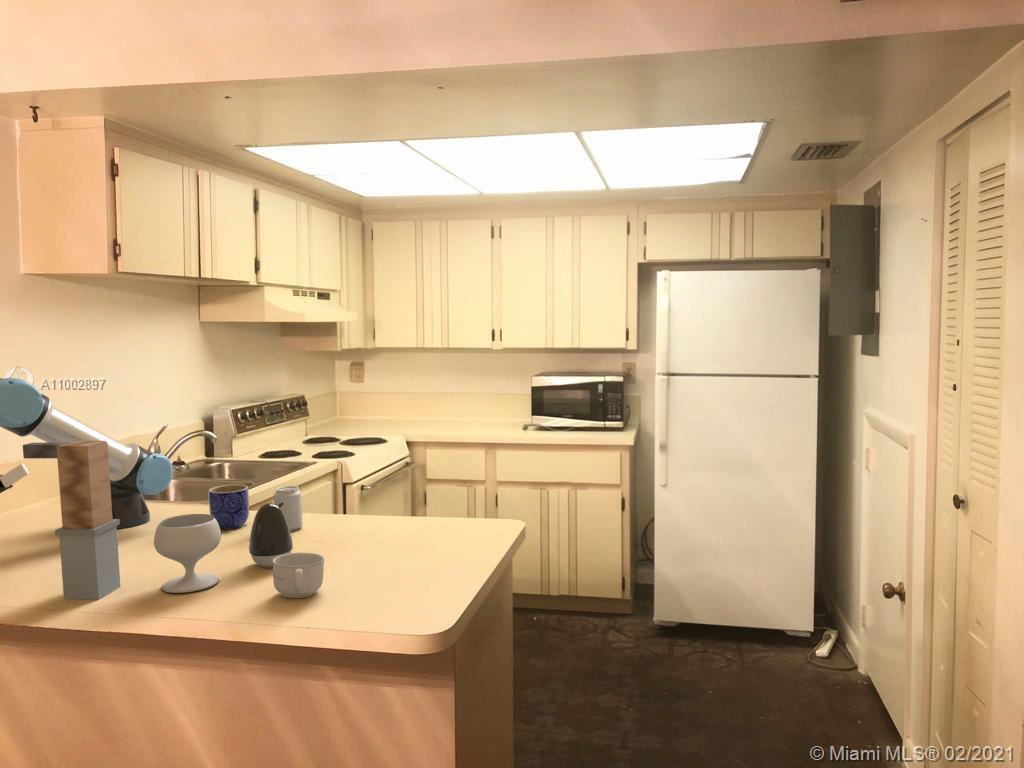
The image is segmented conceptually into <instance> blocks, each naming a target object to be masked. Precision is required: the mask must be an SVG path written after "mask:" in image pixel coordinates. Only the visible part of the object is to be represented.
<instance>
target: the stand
mask: <svg viewBox="0 0 1024 768" xmlns="http://www.w3.org/2000/svg"><path fill="white" fill-rule="evenodd" d="M119 524H120V519H113V520H112V521H110V522H107V523H105V524H103V525H101V526H98V527H96V528H94V529H63V528H62V526H61V527H59V528H56V529H54V534H55V536H58V537H59V550H60V552H59V553H60V564H61V578H62V592H63V599H64V600H100V599H102V598H104V597H106V596H107V595H109V594H111V593H112V592H114V591H116V590H117V589H119V588H121V573H120V571H121V570H120V562H119V561H120V559H119V543H118V528H117V525H119Z"/></svg>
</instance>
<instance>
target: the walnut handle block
mask: <svg viewBox="0 0 1024 768" xmlns="http://www.w3.org/2000/svg"><path fill="white" fill-rule="evenodd" d="M22 453H23V454H22V455H23V456H22V457H23V459H24V460H25V459H57V471H58V484H59V486H58V487H59V498H60V499H59V500H60V511H61V512H60V513H61V525H62V526H61V527H62V528H63V529H94V528H96V527H98V526H101V525H103V524H105V523H107V522H110V521H112V520H113V518H112V503H111V488H110V473H109V459H108V444H107V441H75V442H59V443H47V442H29V443H26V444H25V443H24V444H22Z"/></svg>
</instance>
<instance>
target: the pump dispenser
mask: <svg viewBox="0 0 1024 768" xmlns="http://www.w3.org/2000/svg"><path fill="white" fill-rule="evenodd" d="M282 506H283V502H280V503H278V504H277V505H276V504H274V502H268V503H264V504H262V505H261V506H260V507H259V508H258V509H257V512H256V514H255V517H254V519H253V521H252V522H253V523H252V526H251V529H250V535H249V542H248V551H249V554H250V556H251V559H252V560H253V562H254V563H255V565H258V566H260V567H263V568H273V559H274V558H276V557H278V556H281V555H285V554H290V553H292V550H293V549H294V545H293V537H292V534H291V532H292V531H290V529H289V525H288V523H287V520H286V518H285V515H284V513H283V512H282V510H281V507H282Z"/></svg>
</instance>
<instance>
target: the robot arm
mask: <svg viewBox="0 0 1024 768" xmlns="http://www.w3.org/2000/svg"><path fill="white" fill-rule="evenodd" d="M51 402H52V401H51V399H50V397H48V396H47V395H45V394H43V393H41V391H40V390H39V389H38V387H36V386H35V385H33V384H32V383H30V382H29V381H26V380H23V379H20V378H14V377H8V378H7V377H6V378H0V428H2V429H4V430H6V431H8V432H10V433H12V434H14V435H17V436H19V437H21V438H23V437H27V436H33V437H35V438H37V439H39V440H41V441H44V443H59V442H75V441H107V444H108V459H109V473H110V488H111V503H112V518H113V519H120V524H119V525H117V529H123V528H130V527H135V526H140V525H142V524H145V523H147V522H149V521H150V520H151V512H150V510H149V507H148V505H147V502H146V501H145V498H144V495H145V496H150V495H151V496H154V495H159V494H161V493H162V492H164V491H165V490H166V489H167V488H168V487H169V485H170V483H171V482H172V479H173V476H174V469H173V464H172V463H173V462H171V460H170V459H169V458H168V457H167V456H166V455H164V454H162V453H158V452H157V453H155V452H151V451H149V450H148V449H146V448H144V447H142V446H140V445H138V444H137V443H134V442H133V443H127V444H124V443H122V442H121V441H119V440H117V439H115V438H112V437H111V436H109V435H107V434H106V433H103V432H102V431H100V430H99V429H96V428H94V427H92V426H90V425H88V424H86V423H85V422H83V421H81V420H79V419H77V418H75V417H74V416H71V415H70V414H68V413H66V412H64V411H62V410H60V409H58V408H57V407H54V406H53V405H52V403H51ZM29 474H30V472H29V469H28V468H27V467H26V465H25V463H24V462H23V463H20V464H19V465H17V466H15V467H14V468H12V469H11V470H9V471H8V472H6V473H4V474H0V494H2V493H4V492H5V491H7V490H9V489H12V488H13V487H14V485H13V484H15V483H17V482H18V481H20V480H21V479H23V478H25V477H27V476H28V475H29Z"/></svg>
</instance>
